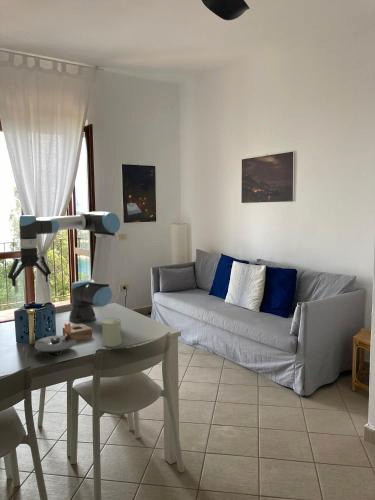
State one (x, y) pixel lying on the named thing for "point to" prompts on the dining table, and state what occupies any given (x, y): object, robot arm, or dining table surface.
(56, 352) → the wheel base
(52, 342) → the handwheel
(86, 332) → the brown square block
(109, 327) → the can
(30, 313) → the hook pin
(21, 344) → the dining table surface
